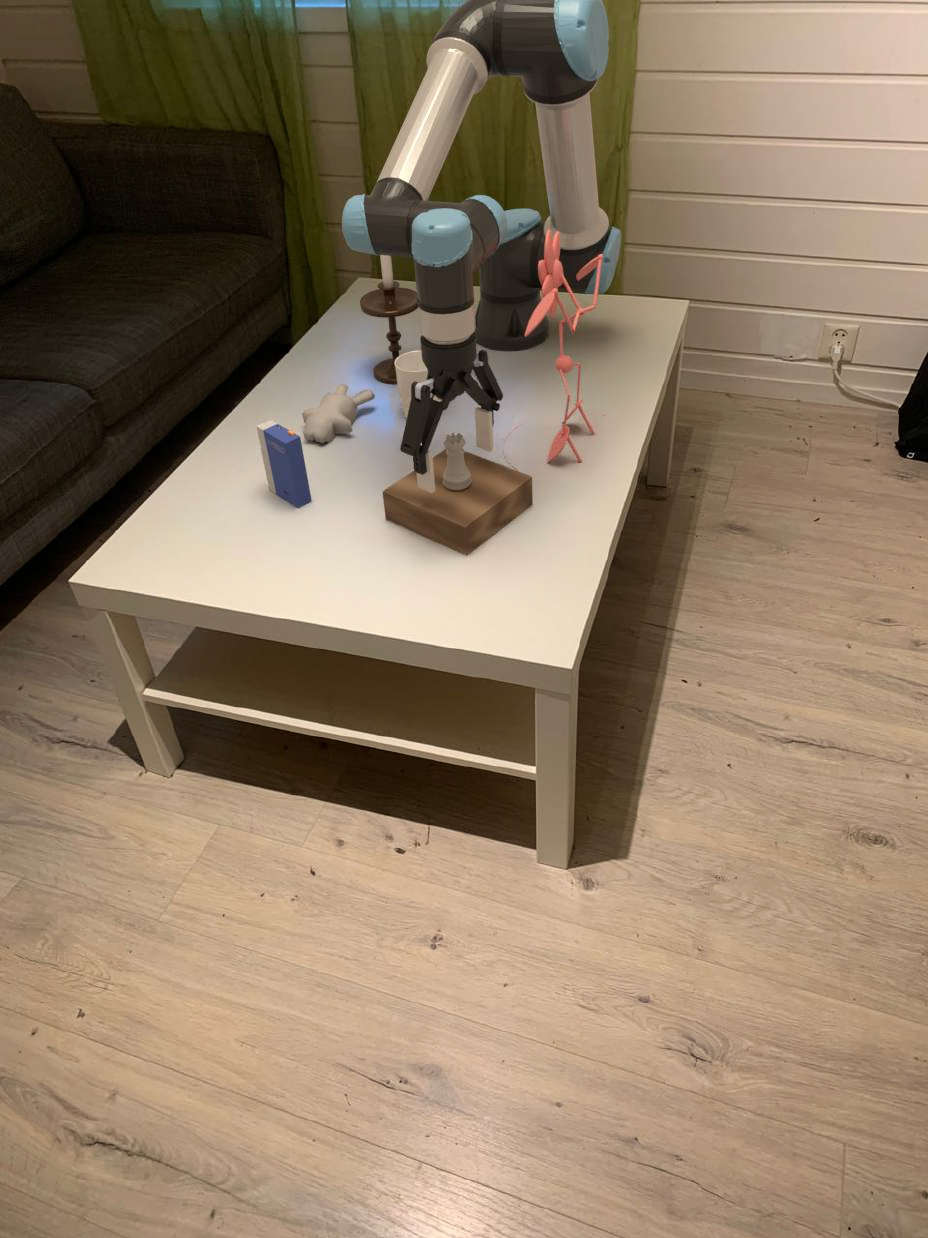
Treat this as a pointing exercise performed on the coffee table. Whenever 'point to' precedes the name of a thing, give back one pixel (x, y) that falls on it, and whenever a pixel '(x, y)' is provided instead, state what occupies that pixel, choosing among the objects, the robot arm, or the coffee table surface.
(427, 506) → the walnut base
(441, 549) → the coffee table surface
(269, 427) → the walkman
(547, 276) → the figurine
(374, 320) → the coffee table surface
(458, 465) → the rook chess piece
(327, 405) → the bunny figurine
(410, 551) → the coffee table surface
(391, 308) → the candlestick
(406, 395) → the white cup
